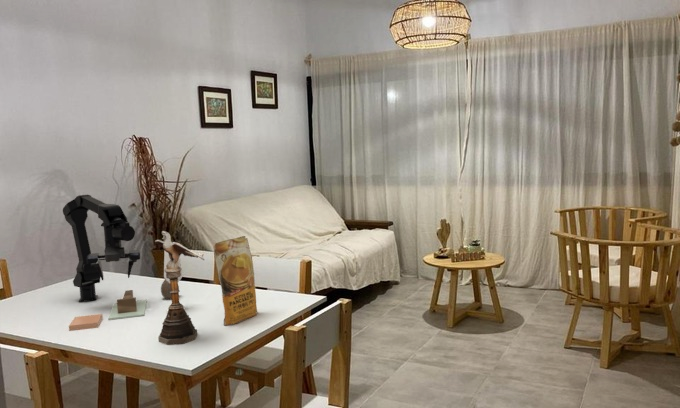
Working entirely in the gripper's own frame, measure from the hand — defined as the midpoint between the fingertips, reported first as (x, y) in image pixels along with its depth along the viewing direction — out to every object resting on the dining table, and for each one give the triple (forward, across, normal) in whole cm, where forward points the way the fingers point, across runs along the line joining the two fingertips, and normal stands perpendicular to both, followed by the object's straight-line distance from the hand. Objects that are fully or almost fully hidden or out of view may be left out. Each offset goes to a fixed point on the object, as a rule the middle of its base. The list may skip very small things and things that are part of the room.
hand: (115, 278), depth 212 cm
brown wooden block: (+10, +4, -5) cm, 12 cm away
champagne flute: (+11, +21, -14) cm, 27 cm away
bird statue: (+10, +23, -44) cm, 51 cm away
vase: (+11, +19, +4) cm, 23 cm away
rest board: (+11, +4, -7) cm, 13 cm away
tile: (+10, -8, -14) cm, 19 cm away
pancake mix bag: (+10, +42, -34) cm, 55 cm away
